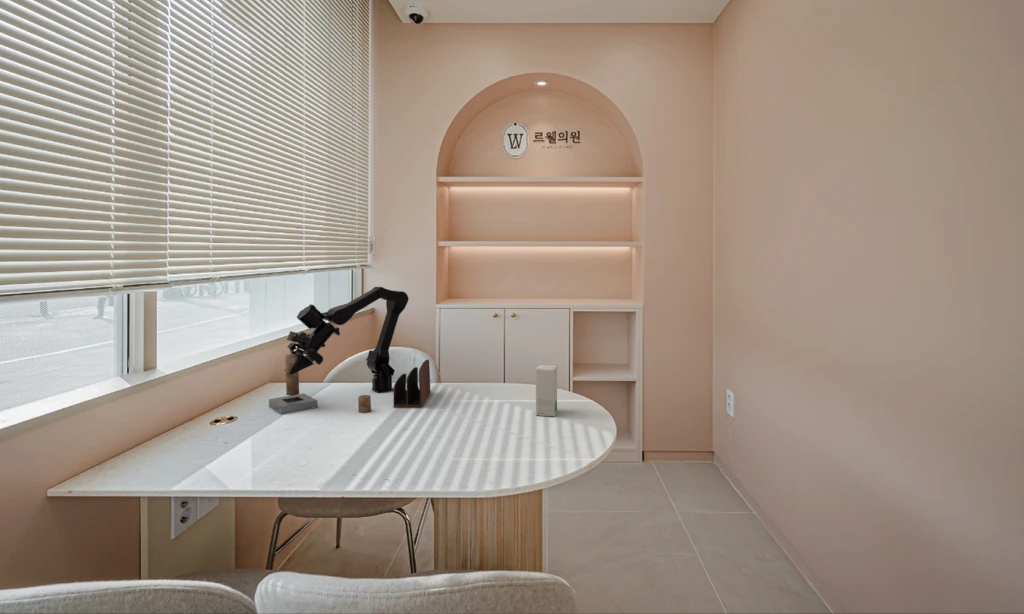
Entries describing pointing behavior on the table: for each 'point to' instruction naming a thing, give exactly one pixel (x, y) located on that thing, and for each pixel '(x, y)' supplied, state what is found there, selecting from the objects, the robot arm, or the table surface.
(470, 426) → the table surface
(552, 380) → the skincare box
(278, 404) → the hole collar
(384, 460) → the table surface
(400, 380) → the letter holder
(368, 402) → the stub pin
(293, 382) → the tall pin
